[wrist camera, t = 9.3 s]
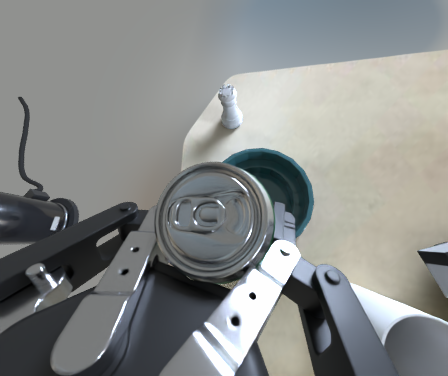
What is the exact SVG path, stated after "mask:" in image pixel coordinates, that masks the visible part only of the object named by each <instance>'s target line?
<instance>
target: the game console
mask: <svg viewBox="0 0 448 376" xmlns="http://www.w3.org/2000/svg"><path fill="white" fill-rule="evenodd" d="M417 252H418V253H419V255H420V256H421V258H422V260H423V261H424V263H425V264H426V266H427V268H428V269H429V271H430V273H431V274H432V276H433V277H434V279H435V281H436V282H437V284H438V285H439V287H440V289H441V290H442V292H443V293H444V295H445V297H447V298H448V242H444V243H441V244H437V245H434V246H433V247H429V248H426V249H422V250H418V251H417Z"/></svg>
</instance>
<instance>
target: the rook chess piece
mask: <svg viewBox="0 0 448 376" xmlns="http://www.w3.org/2000/svg"><path fill="white" fill-rule="evenodd" d="M222 87H223V88H220V90H219V91H220V92H219V94H218V98H219V99H220V100H221V104H222V106H223V113H222V116H221V118H222V124H223V125H224V126H225V127H226V128H229V129H234V128H236V127H238V126H239V125H240V124H241V123H242V121H243V116H242V113H241V111H240V110H239V109H238V108H237V106H236V98H235V97H236V95H237V91H236V90H235V89H234V87H233V86H231V85H230V84H228V85H227V87H225V85H223V86H222Z"/></svg>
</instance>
